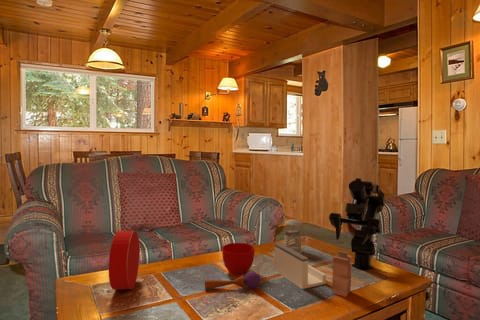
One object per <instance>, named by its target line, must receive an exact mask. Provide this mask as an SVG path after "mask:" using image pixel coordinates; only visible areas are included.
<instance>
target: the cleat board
mask: <svg viewBox="0 0 480 320" xmlns="http://www.w3.org/2000/svg"><path fill="white" fill-rule="evenodd" d="M286 246H287V245H286ZM286 246H284V243H283V244H282V242H280V243H279V242H277V243H274V260H273V263H274V264H273V268H274V269H273V270H274V271H275V272H276V273H278V274H279V275H280V276H282V277H284V278H285V279H286V280H288V281H289V282H290V283H292V284H294V285H295V286H297V288H299V289H301V290H304V289H308V288H312V287H313V288H314V287H318V286H322V285H326V284H327V274H326V273H324V272H322V271H320V270H319V269H318V268H315V267H313V266H311V265H310V264H309V257H307V256H305V255H303V254H302V253H300V254H299V253H298V252H296V251H294V250H292V249H290V248H288V247H286Z"/></svg>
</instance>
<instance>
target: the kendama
mask: <svg viewBox="0 0 480 320" xmlns="http://www.w3.org/2000/svg"><path fill="white" fill-rule="evenodd" d="M261 282H262V280H261V277H260V274H258V273H257V272H256V271H249V272H246V274H244V275H239V277H237V278H235V279H234V280H221V279H219V280H215V279H212V280H211V279H207V280H206V279H205V280H204V290H205V291H207V290H212V289H216V288H221V287H227V286H229V285H230V286H231V285H235V286H239V287H241V288H245V287H246V288H247V289H250V290H255V289H258V287H259V286H260V285H261Z"/></svg>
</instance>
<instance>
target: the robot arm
mask: <svg viewBox="0 0 480 320" xmlns="http://www.w3.org/2000/svg"><path fill="white" fill-rule="evenodd" d="M380 187H381V186H380V185H378V184H376V183H375V184H374V182H372V181H367V180H362V178H358V177H356V178H355V179H354V180H352V181H351V182H349V183H348V189H349V194H350V196H351V199H352V201H351V202H352V203H350V202H346V204H345V209H344V212H346V215H345V216H346V217H342V214H341V213H338V212H337V213H336V212H331V213H330V214H329V216H328V220H329V222H330V224H331V226H333V228H335V237H336V238H335V239H336V240H337V241H339V239H340V235H341V233H342V228H343V227H342V226H343V224H347V225H348V224H350V225H356V226H360V229H355V232H354V234H353V237H352V238H351V242H350V246H351V253H354V262H353V263H352V264H351V267H355V268H357V269H360V270H361V271H368V270H372V269H373V268H374V265H371V261H372V259H371V258H372V257H373V256H376V247H375V242H374V239H373V235H377V234H380V233H382V226H383V225H382V223H381V220H380V218H377V217H378V216H377V215H378V213H381V212H382V211H383V209H384V207H385V205H386V197H385V193H384V192H383V191H382V190H381V188H380ZM374 194H376V195H374Z"/></svg>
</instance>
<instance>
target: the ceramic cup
mask: <svg viewBox="0 0 480 320" xmlns="http://www.w3.org/2000/svg"><path fill="white" fill-rule="evenodd" d="M255 249H256V248H255V246H254V245H251V244H249V243H245V242H231V243H226V244H224V245H223V246H222V249H221V252H222V261H223V263H224V267H225V269H227V271H228V272H229V273H230V274H231V275H233V276H242V275H243V276H245V275H246V274H247V273H248V271H249V270H250V269H251V267H252V265H253V263H254V260H255Z"/></svg>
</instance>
